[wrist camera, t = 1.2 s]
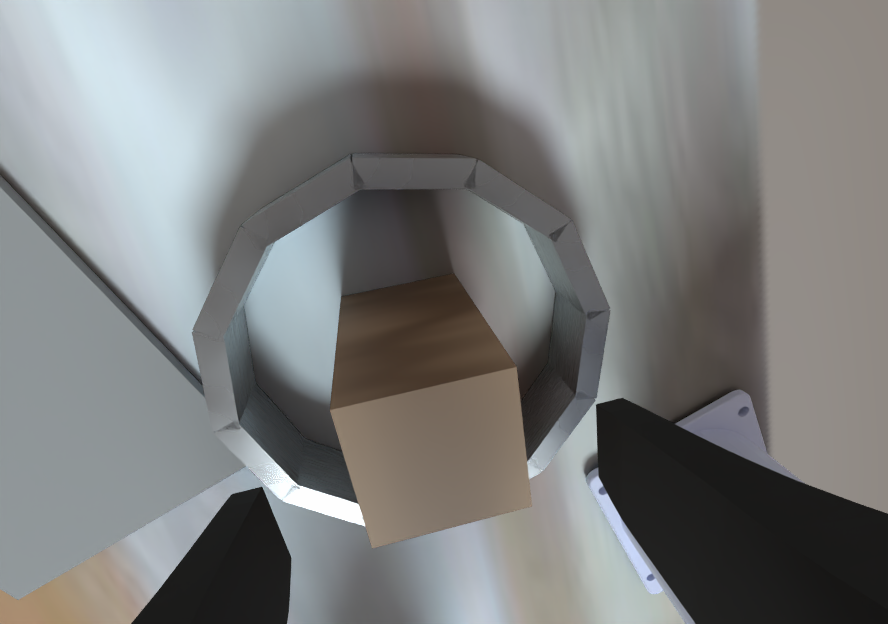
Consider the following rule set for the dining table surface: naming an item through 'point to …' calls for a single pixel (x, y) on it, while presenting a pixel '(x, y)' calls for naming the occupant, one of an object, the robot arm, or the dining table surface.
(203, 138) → the dining table surface
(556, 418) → the steel ring
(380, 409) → the walnut block
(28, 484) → the slate mat
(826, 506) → the robot arm
